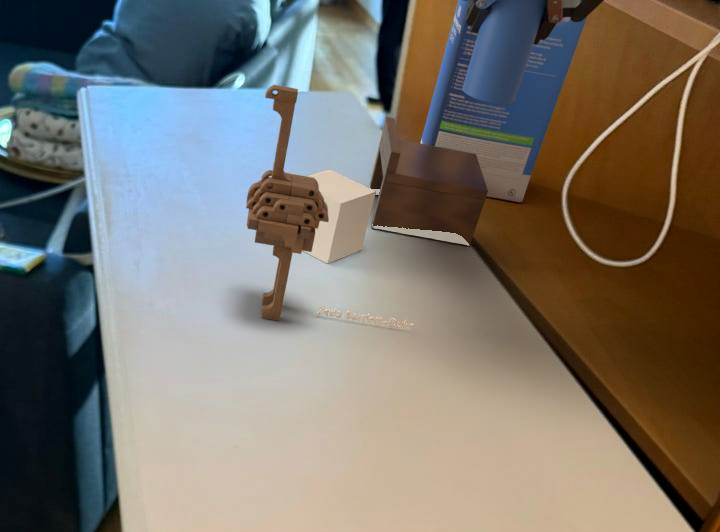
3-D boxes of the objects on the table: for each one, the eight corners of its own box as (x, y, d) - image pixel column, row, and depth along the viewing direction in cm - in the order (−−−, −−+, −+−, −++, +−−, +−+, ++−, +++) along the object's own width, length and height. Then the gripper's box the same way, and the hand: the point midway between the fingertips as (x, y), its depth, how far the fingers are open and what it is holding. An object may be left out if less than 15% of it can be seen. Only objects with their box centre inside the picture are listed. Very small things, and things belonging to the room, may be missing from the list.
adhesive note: (316, 228, 99) (329, 169, 95) (361, 250, 97) (376, 191, 93) (281, 240, 96) (293, 179, 91) (327, 264, 93) (341, 203, 89)
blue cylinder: (510, 91, 92) (545, -17, 86) (518, 108, 89) (555, -4, 82) (459, 82, 92) (490, -28, 85) (465, 98, 88) (498, -16, 82)
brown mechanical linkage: (229, 321, 82) (263, 97, 69) (232, 287, 87) (265, 71, 74) (415, 351, 84) (482, 137, 71) (408, 315, 88) (470, 109, 75)
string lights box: (513, 182, 119) (600, -66, 100) (522, 205, 113) (616, -52, 95) (412, 163, 118) (481, -91, 99) (416, 185, 112) (489, -78, 94)
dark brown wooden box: (459, 207, 110) (482, 134, 104) (469, 247, 102) (494, 170, 96) (368, 190, 109) (386, 116, 103) (371, 229, 101) (391, 151, 96)
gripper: (678, -142, 72) (582, 4, 88) (498, -180, 70) (435, -25, 87) (664, -44, 72) (570, 82, 89) (483, -81, 71) (424, 54, 88)
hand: (504, 28), depth 88 cm, fingers closed on blue cylinder, 5 cm apart
